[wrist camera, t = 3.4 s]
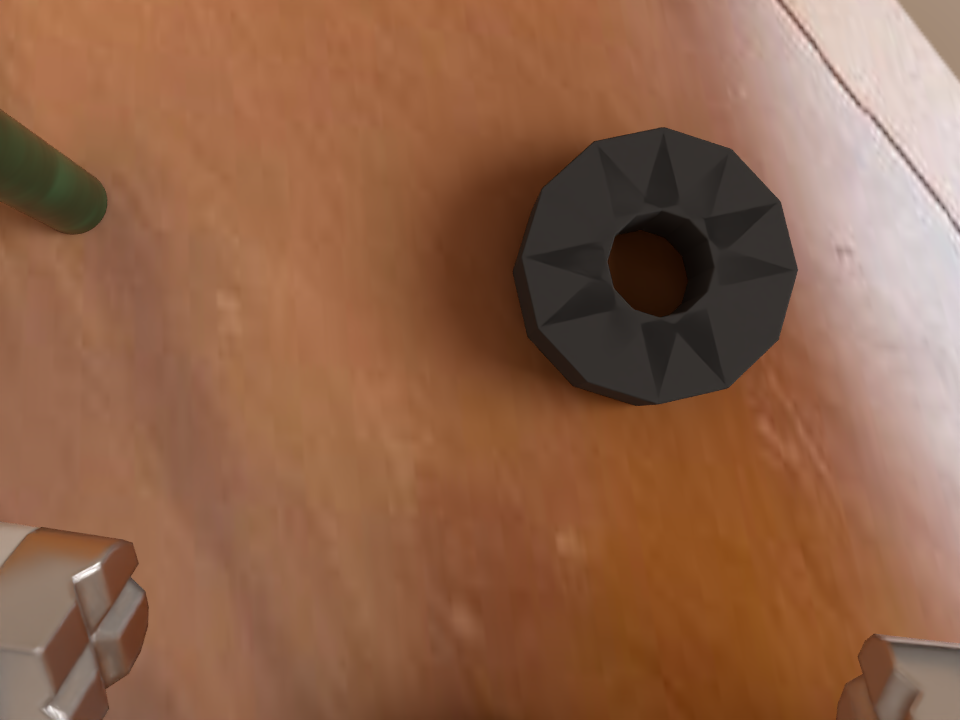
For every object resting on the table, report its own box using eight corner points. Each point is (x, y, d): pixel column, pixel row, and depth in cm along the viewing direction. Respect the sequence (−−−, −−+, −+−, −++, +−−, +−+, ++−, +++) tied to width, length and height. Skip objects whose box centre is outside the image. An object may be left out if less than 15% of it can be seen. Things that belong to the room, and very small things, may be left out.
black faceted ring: (635, 453, 37) (656, 457, 33) (465, 269, 37) (468, 254, 33) (809, 286, 38) (848, 272, 34) (643, 108, 38) (665, 76, 34)
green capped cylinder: (71, 247, 36) (-89, 171, 25) (27, 200, 36) (-152, 103, 25) (121, 205, 36) (-15, 110, 25) (78, 157, 36) (-77, 42, 25)
